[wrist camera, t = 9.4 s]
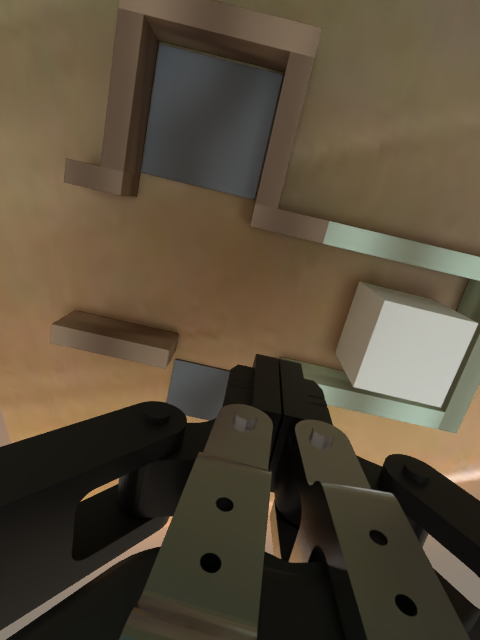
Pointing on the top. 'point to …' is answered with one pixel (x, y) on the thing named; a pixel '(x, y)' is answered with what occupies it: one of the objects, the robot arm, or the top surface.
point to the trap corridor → (234, 179)
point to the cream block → (403, 344)
